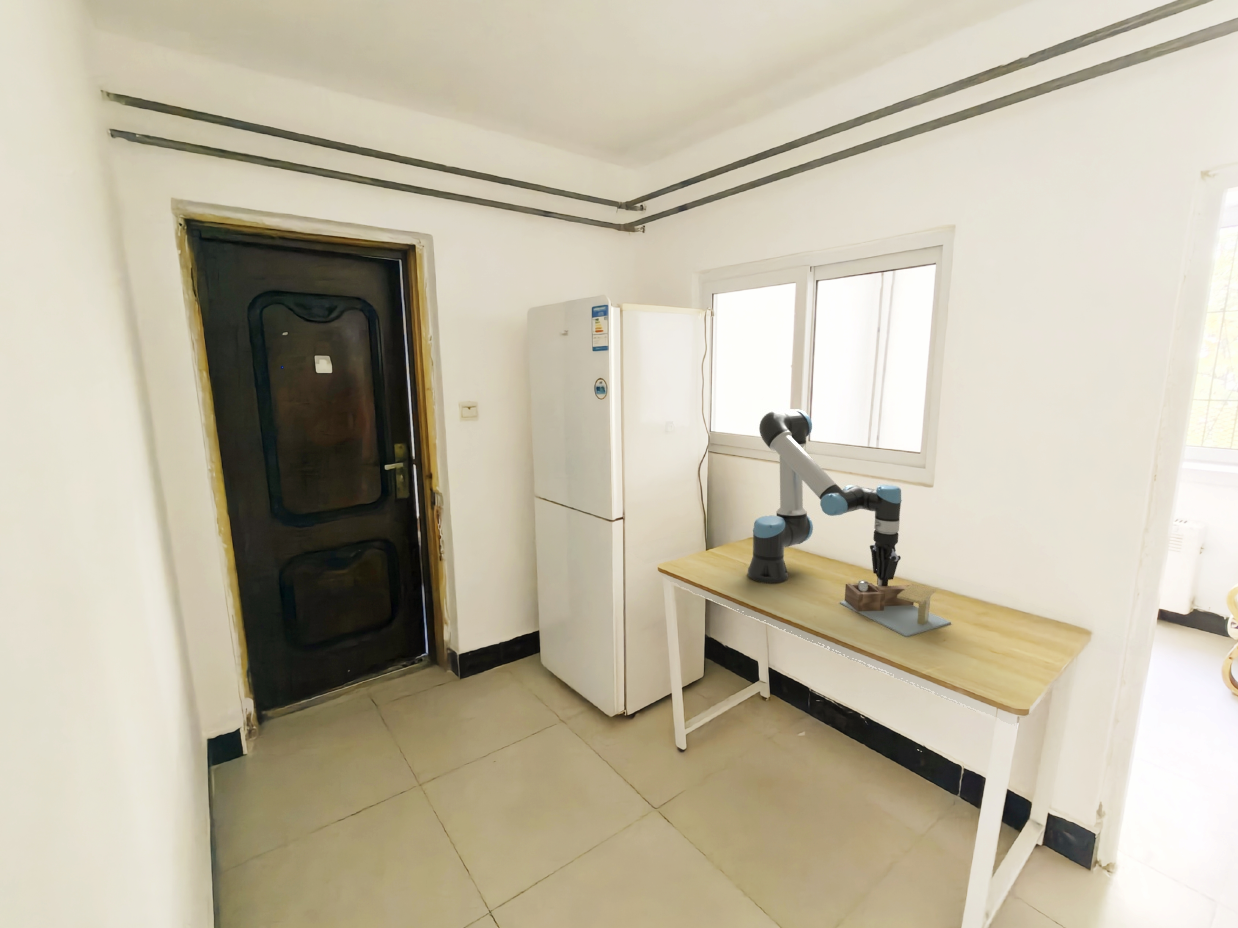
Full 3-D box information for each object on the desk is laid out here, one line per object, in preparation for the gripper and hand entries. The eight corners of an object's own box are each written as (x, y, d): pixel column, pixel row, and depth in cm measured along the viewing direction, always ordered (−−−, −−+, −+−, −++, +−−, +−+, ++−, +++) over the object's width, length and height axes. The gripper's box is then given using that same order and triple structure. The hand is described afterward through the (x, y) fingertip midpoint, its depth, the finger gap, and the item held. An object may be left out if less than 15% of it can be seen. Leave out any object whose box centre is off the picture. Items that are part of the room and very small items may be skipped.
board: (839, 603, 184) (839, 601, 184) (881, 592, 192) (881, 591, 191) (906, 636, 160) (906, 634, 160) (950, 623, 168) (950, 621, 168)
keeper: (894, 624, 168) (897, 595, 166) (909, 611, 177) (911, 583, 175) (918, 631, 163) (921, 601, 161) (932, 618, 172) (935, 589, 170)
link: (857, 611, 176) (858, 594, 175) (844, 599, 185) (845, 583, 184) (918, 609, 177) (920, 592, 176) (903, 597, 186) (904, 581, 185)
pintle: (855, 604, 183) (856, 581, 181) (861, 602, 184) (863, 579, 182) (862, 607, 180) (863, 584, 178) (868, 606, 181) (870, 582, 180)
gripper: (864, 526, 186) (860, 589, 190) (889, 537, 173) (884, 604, 178) (883, 524, 187) (879, 587, 191) (909, 535, 175) (904, 602, 179)
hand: (881, 595), depth 184 cm, fingers closed
